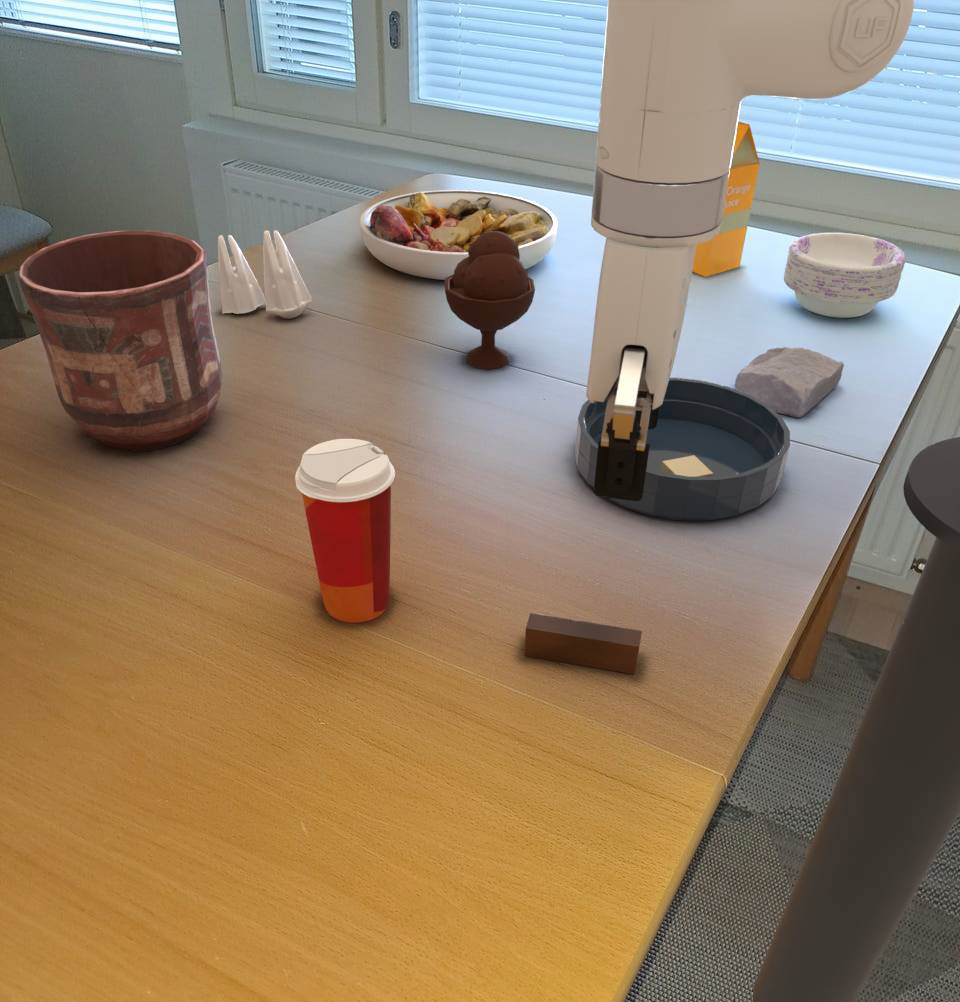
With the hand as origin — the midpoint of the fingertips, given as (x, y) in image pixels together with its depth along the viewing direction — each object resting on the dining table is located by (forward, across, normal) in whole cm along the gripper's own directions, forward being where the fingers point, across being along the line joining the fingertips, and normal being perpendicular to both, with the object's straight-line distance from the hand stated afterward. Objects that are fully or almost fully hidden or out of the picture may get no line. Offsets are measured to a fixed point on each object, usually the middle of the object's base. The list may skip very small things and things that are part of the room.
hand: (626, 459), depth 66 cm
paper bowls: (+19, -80, +22) cm, 85 cm away
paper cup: (+18, 0, -22) cm, 28 cm away
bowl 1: (+18, -86, -34) cm, 95 cm away
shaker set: (+18, -56, -53) cm, 80 cm away
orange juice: (+19, -92, +3) cm, 94 cm away
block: (+17, -23, +5) cm, 30 cm away
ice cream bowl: (+18, -50, -22) cm, 58 cm away
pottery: (+18, -24, -54) cm, 61 cm away
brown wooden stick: (+18, +2, -2) cm, 18 cm away
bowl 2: (+18, -30, +4) cm, 36 cm away
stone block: (+19, -51, +14) cm, 57 cm away
